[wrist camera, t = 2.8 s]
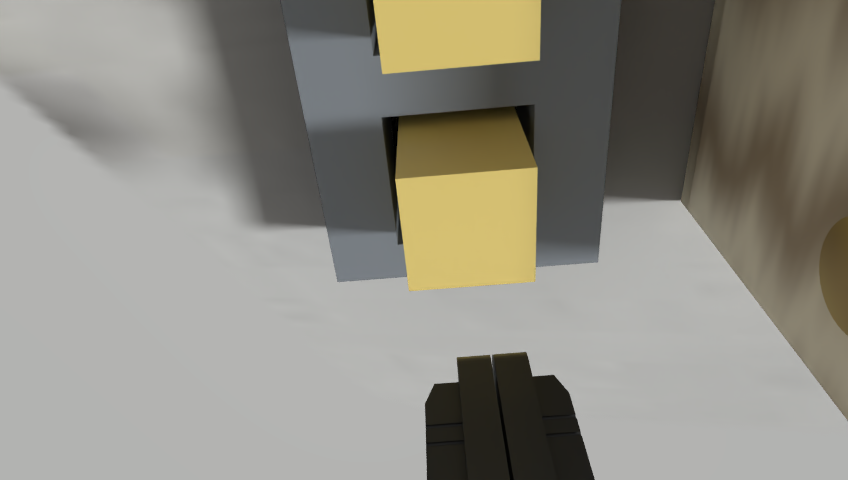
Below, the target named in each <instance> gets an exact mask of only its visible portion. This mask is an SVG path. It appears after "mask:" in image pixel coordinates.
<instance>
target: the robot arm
mask: <svg viewBox="0 0 848 480" xmlns="http://www.w3.org/2000/svg"><path fill="white" fill-rule="evenodd" d="M457 367H458V380H459V382H456V383H442V384H434V386H433V388H432V390H431V392H430V395H429V397H428V399H427V401H426V403H425V416H426V454H427V455H426V456H427V480H595V479H594V476H593V473H592V469H591V466H590V462H589V459H588V456H587V452H586V449H585V445H584V442H583V438H582V436H581V433H580V429H579V425H578V421H577V418H576V417H575V411H574V408H573V405H572V401H571V398H570V394H569V392H568V391H567V390H566V389H565V388H564V386H563V385H562V384H561V383H560V382H559V381H558V379H557V378H556V377H555V376H554V375H547V376H533V377H532V373H531V368H530V364H529V360H528V356H527V353H526V352H520V353H507V354H494V355H492V363H491V358H490V355H483V356H470V357H457Z"/></svg>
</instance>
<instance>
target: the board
mask: <svg viewBox="0 0 848 480" xmlns="http://www.w3.org/2000/svg"><path fill="white" fill-rule="evenodd" d="M280 2H281V6H282V11H283V16H284V21H285V26H286V31H287V36H288V41H289V46H290V51H291V56H292V60H293V65H294V70H295V75H296V80H297V85H298V90H299V95H300V100H301V105H302V110H303V114H304V119H305V124H306V129H307V134H308V139H309V144H310V149H311V154H312V159H313V164H314V168H315V173H316V178H317V183H318V188H319V193H320V198H321V203H322V208H323V213H324V218H325V222H326V227H327V232H328V237H329V242H330V247H331V252H332V257H333V262H334V267H335V272H336V276H337V281H338V282H344V281H358V280H371V279H384V278H397V277H407V270H406V262H405V254H404V246H403V238H402V229H401V221H400V213H399V205H398V197H397V189H396V181H395V175H396V157H395V148H394V140H393V132H392V123H391V117H393V116H404V115H416V114H428V113H440V112H451V111H463V110H475V109H486V108H498V107H510V106H517V116H518V118H519V121H520V123H521V126H522V129H523V131H524V134H525V136H526V139H527V141H528V144H529V147H530V149H531V152H532V154H533V157H534V159H535V162H536V165H537V167H538V174H537V222H536V267H541V266H555V265H568V264H581V263H594V262H598V255H599V244H600V233H601V222H602V210H603V199H604V188H605V177H606V166H607V155H608V143H609V132H610V121H611V110H612V99H613V88H614V77H615V65H616V54H617V43H618V32H619V21H620V10H621V0H541V28H540V60H538V61H526V62H515V63H504V64H492V65H481V66H469V67H458V68H447V69H435V70H424V71H413V72H401V73H390V74H382V68H381V60H380V52H379V44H378V36H377V27H376V19H375V11H374V3H373V0H280Z"/></svg>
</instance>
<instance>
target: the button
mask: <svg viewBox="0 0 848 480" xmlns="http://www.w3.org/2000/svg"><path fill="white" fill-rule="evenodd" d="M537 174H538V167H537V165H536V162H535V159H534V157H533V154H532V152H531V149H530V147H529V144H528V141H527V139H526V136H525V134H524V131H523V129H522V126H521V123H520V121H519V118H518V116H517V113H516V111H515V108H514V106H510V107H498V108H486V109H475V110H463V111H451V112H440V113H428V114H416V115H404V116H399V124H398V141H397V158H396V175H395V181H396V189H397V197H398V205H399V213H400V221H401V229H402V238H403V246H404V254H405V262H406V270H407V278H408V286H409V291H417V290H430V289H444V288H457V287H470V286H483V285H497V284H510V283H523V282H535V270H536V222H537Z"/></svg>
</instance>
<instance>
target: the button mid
mask: <svg viewBox="0 0 848 480" xmlns="http://www.w3.org/2000/svg"><path fill="white" fill-rule="evenodd" d="M373 3H374V11H375V19H376V27H377V36H378V44H379V52H380V60H381V68H382V74H390V73H401V72H413V71H424V70H435V69H447V68H458V67H469V66H481V65H492V64H504V63H515V62H526V61H538V60H540V28H541V0H373Z"/></svg>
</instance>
